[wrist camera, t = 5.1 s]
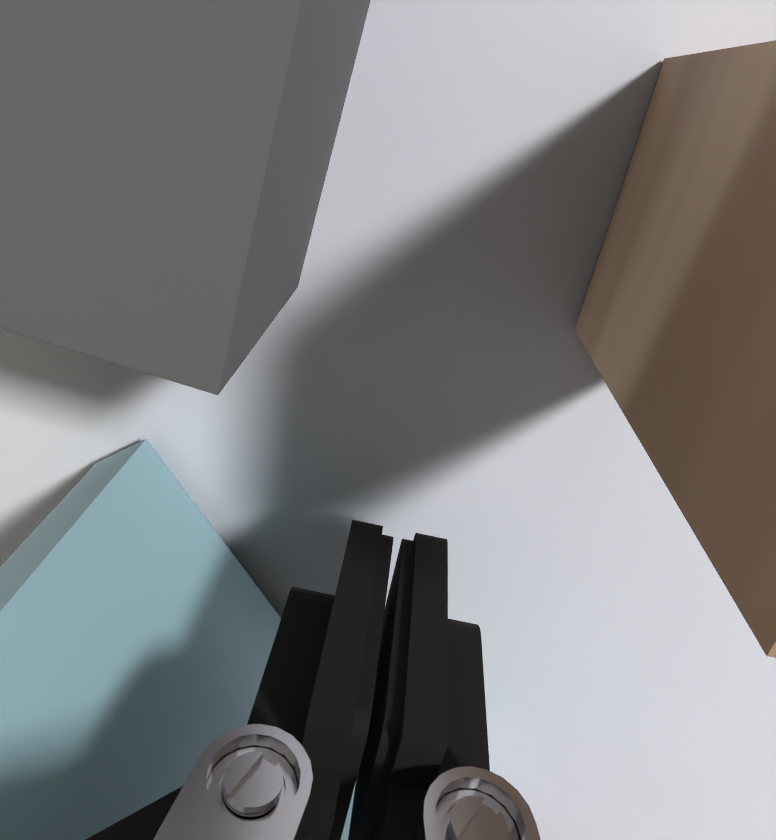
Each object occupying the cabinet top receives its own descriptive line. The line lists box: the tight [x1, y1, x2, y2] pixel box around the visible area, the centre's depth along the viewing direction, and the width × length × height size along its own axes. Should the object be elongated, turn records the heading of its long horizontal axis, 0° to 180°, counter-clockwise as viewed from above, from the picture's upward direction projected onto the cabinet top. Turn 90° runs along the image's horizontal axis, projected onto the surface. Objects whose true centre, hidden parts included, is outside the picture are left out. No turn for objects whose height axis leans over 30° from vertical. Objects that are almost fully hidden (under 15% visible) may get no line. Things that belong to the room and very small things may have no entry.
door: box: [0, 439, 356, 840], centre depth 11 cm, size 12×3×7 cm, turn 27°
